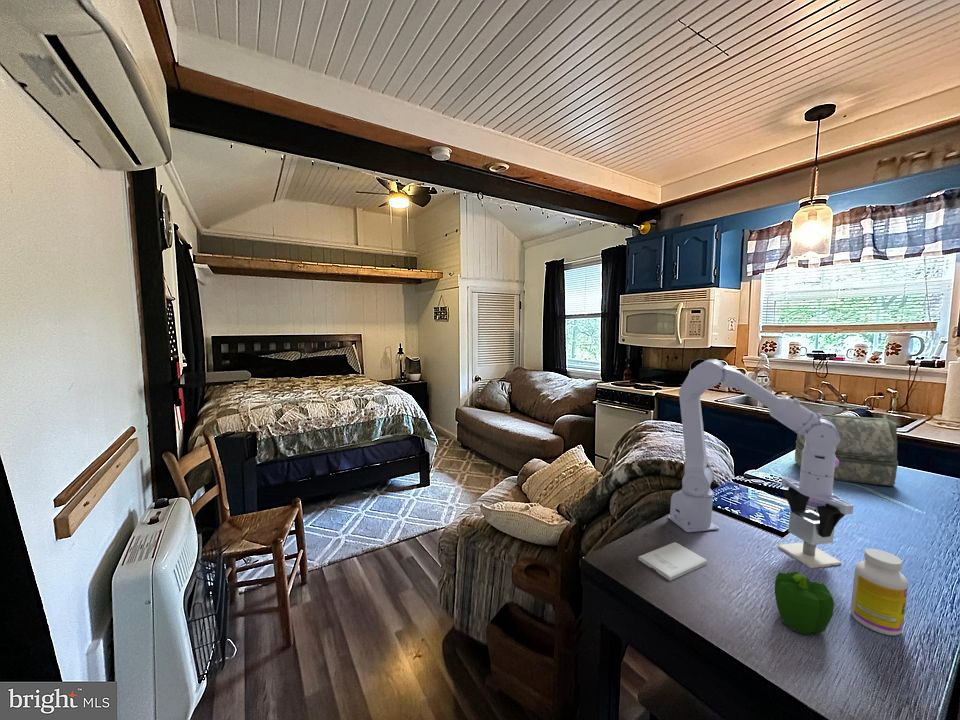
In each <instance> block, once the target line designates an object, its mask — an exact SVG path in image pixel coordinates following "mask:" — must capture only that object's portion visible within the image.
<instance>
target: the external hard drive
mask: <svg viewBox="0 0 960 720" xmlns="http://www.w3.org/2000/svg"><path fill="white" fill-rule="evenodd" d="M637 558H638V561H639V562H641V563H643V564H644V565H646V567H649V568H650V569H652V570H655V572H656V573H658V574H659V575H660V576H662V577H663V578H665V579H667V580H668V581H670V582H671V581H673V580H676V579H677V578H680V577H682V576H684V575H686V574H689V573H691V572H693V571H695V570H697V569H699V568H701V567H704V566H706V565H707V564H708V560H707V559H706V558H704V557H703V556H701V555H699V554H698V553H695V552H694V551H692V550H690V549H689V548H687V547H685V546H682V544H680V543H678V542H675V541H674V542H672V543H671V542H670V543H669V544H667V545H664V546H661V547H659V548H657V549H654V550H652V551H649V552H647V553H644V554H642V555H639V556H638V557H637Z"/></svg>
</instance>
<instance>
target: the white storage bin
mask: <svg viewBox="0 0 960 720" xmlns="http://www.w3.org/2000/svg"><path fill="white" fill-rule="evenodd" d="M819 525H820V520H819V514H818V512H816V511H814V510H811V509H808V510H807V509H806V510H802V511H791V510H790V512H789V521H788V529H787V532H788V533H789V534H792V535H793V536H795V537H797V538H799V539H800V540H802V541H803V542H804V541H805V542H807V543H809V544H811V545H816V546H818V545H824V544H825V545H826V544H833V543H834V534H835V528H836V526H835V527H834V529H833V531H832V533H831V536H830V537H821V536H820V534H819Z"/></svg>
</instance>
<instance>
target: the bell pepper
mask: <svg viewBox="0 0 960 720" xmlns="http://www.w3.org/2000/svg"><path fill="white" fill-rule="evenodd" d="M774 594H775V595H774V596H775V601H776V606H777V610H778V614H779V616H780V617H781V620H782V622H783V623H784V625H786V626H787V627H788V628H789V629H791V630H793V631H795V632H796V633H799V634H803V635H810V634H811V633H813V634H818V635H819V634H821V633H824V632H825V631H826V629H827V628H828V625H829V623H830V622H831V620H832V617H833V615H834V610H835V609H834V607H835V600H834V599H833V596H832V594H831V592H830V590H829V589H828V587H827V586H826V584H824V583H822V582H819V581H814V580H813V581H811V580H810V579H809V578H808V577H806V576H804V575H803V574H801V573H800V572H798V571H792V572H786V573H785V572H780V571H779V572H778V574H777V575H776V576H775V582H774Z"/></svg>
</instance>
